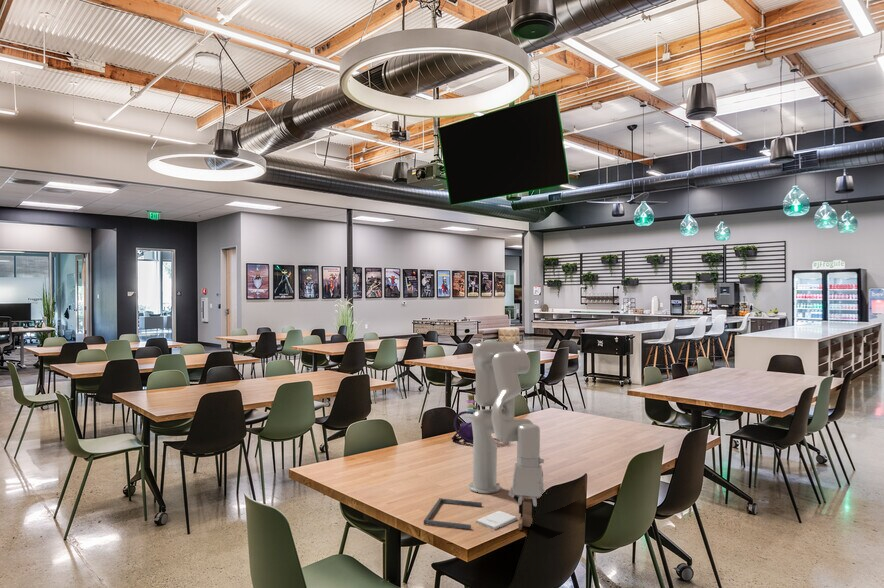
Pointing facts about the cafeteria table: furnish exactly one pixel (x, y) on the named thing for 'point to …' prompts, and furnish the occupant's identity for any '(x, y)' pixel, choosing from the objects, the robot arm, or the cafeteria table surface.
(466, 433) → the decorative bottle
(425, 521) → the bay
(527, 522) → the pusher
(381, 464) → the cafeteria table surface
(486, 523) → the external hard drive
